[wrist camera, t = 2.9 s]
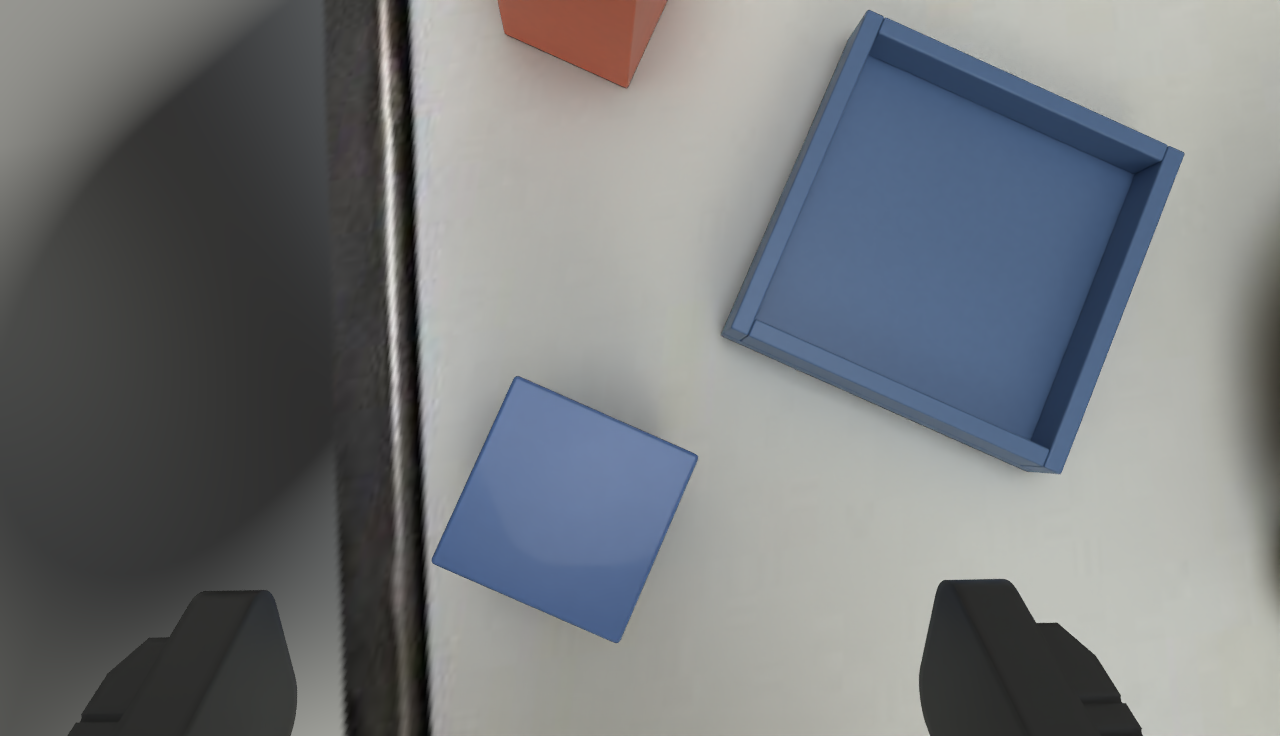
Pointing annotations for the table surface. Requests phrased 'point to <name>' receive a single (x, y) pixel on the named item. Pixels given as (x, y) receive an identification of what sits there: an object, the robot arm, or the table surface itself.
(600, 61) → the terracotta block
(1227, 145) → the table surface
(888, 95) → the blue tray
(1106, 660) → the table surface
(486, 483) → the blue block
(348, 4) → the table surface
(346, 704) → the table surface
